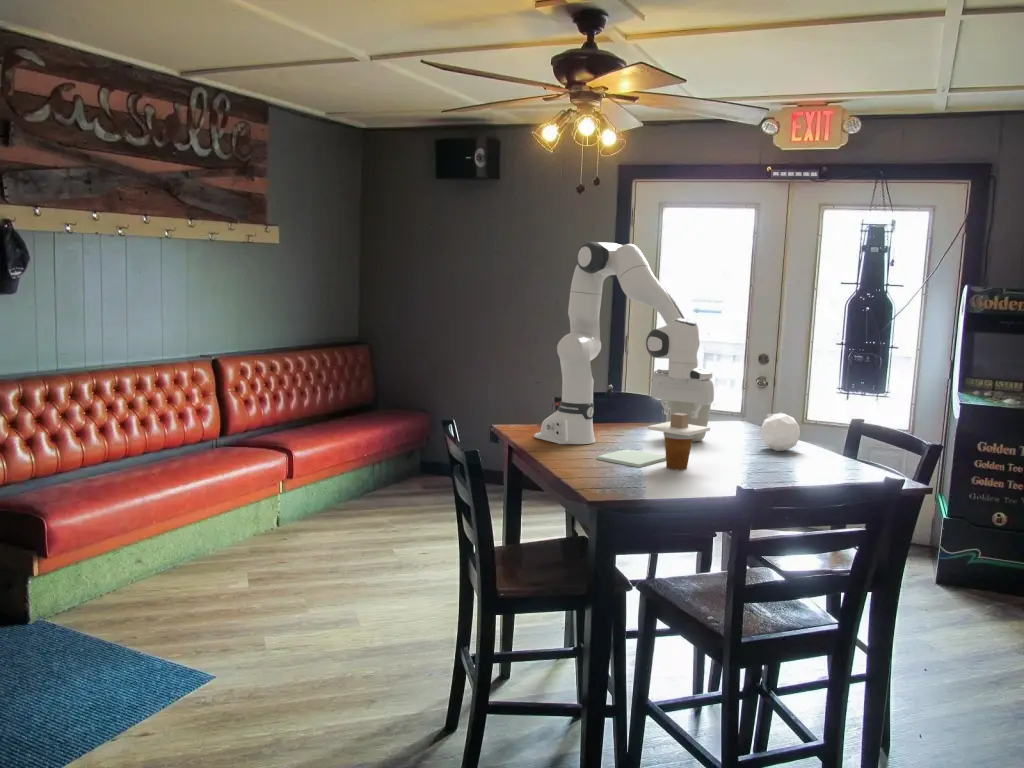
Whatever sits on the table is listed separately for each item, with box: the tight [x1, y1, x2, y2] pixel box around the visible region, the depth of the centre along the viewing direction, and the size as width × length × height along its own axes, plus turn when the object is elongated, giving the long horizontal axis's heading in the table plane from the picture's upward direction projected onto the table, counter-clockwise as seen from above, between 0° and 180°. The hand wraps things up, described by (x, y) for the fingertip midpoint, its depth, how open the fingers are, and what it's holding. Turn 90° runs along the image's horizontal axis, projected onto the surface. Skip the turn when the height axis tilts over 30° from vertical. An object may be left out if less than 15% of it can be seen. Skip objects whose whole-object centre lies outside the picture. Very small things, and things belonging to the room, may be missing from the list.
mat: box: [596, 448, 666, 468], centre depth 281 cm, size 16×18×1 cm
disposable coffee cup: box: [662, 432, 694, 471], centre depth 270 cm, size 10×10×12 cm
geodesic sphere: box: [760, 411, 801, 452], centre depth 305 cm, size 14×14×14 cm
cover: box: [647, 413, 711, 436], centre depth 269 cm, size 14×14×5 cm
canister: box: [665, 400, 712, 443], centre depth 318 cm, size 18×18×21 cm
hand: (680, 415), depth 269 cm, fingers open, 8 cm apart
